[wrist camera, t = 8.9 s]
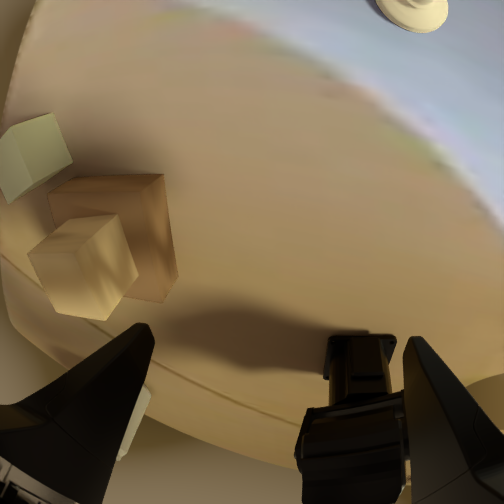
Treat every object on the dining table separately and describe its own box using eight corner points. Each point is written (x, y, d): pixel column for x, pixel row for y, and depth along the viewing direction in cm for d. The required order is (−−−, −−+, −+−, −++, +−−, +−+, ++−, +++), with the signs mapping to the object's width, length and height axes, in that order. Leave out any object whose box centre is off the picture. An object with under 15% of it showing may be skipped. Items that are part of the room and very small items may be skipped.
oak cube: (138, 275, 21) (105, 320, 17) (90, 273, 22) (56, 312, 18) (118, 213, 19) (73, 253, 15) (69, 219, 20) (26, 253, 16)
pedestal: (180, 273, 26) (162, 303, 22) (98, 263, 27) (76, 287, 24) (166, 172, 21) (139, 192, 18) (76, 176, 22) (46, 193, 19)
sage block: (74, 161, 21) (33, 183, 17) (44, 182, 23) (8, 204, 19) (53, 112, 19) (10, 126, 15) (26, 138, 21) (-13, 155, 17)
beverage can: (142, 374, 36) (106, 447, 26) (159, 399, 39) (131, 467, 29) (106, 366, 37) (70, 432, 27) (125, 392, 41) (95, 453, 31)
